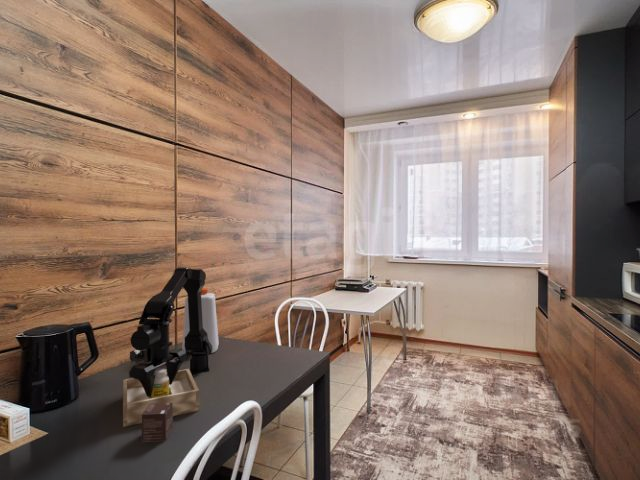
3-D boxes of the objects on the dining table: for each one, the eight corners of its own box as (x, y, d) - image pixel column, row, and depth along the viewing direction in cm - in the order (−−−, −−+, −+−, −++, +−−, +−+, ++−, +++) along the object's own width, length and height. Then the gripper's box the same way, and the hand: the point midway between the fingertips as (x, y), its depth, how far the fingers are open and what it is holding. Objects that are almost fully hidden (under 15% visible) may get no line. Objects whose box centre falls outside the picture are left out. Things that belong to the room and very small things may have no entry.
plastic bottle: (180, 356, 157) (179, 291, 157) (186, 346, 172) (185, 286, 172) (216, 354, 160) (216, 290, 160) (219, 344, 175) (218, 285, 175)
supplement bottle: (167, 396, 117) (167, 366, 117) (170, 402, 112) (170, 371, 112) (149, 400, 114) (148, 369, 114) (151, 407, 109) (151, 375, 109)
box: (150, 430, 98) (150, 403, 98) (173, 429, 99) (173, 402, 99) (141, 443, 92) (140, 414, 92) (165, 441, 93) (165, 413, 92)
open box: (188, 385, 127) (188, 368, 127) (199, 410, 109) (199, 390, 109) (123, 398, 117) (123, 379, 117) (123, 427, 100) (123, 405, 99)
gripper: (159, 330, 124) (159, 376, 124) (113, 346, 106) (114, 400, 106) (187, 333, 121) (187, 379, 121) (144, 350, 103) (145, 405, 103)
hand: (159, 390), depth 113 cm, fingers open, 9 cm apart
